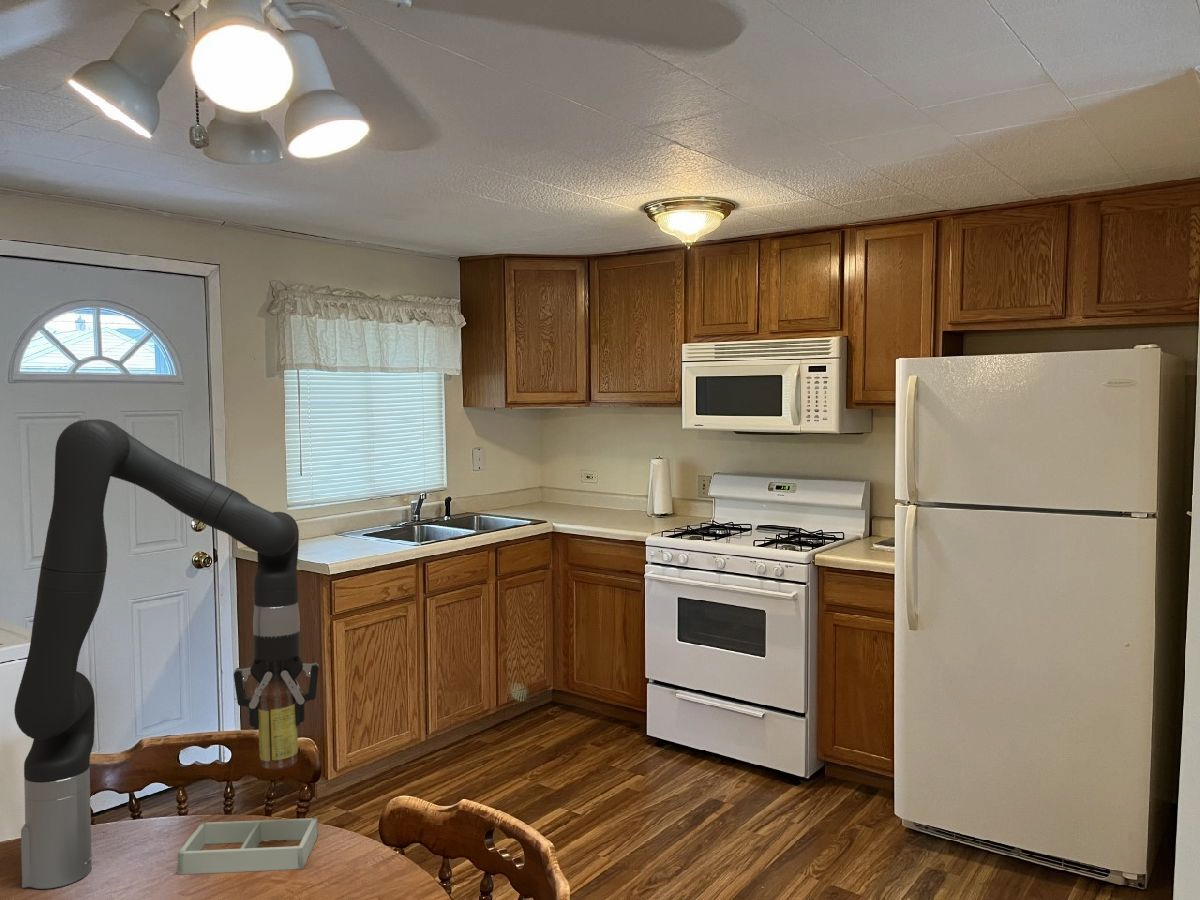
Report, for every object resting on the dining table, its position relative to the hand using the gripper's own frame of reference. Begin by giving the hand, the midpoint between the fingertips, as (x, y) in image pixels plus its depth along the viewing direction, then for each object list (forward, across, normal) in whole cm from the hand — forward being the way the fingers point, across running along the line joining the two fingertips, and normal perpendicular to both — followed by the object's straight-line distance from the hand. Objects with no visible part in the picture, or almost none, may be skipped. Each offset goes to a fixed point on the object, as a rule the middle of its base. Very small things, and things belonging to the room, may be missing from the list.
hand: (277, 726), depth 155 cm
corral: (+22, -5, +1) cm, 23 cm away
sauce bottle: (+7, 0, 0) cm, 7 cm away
